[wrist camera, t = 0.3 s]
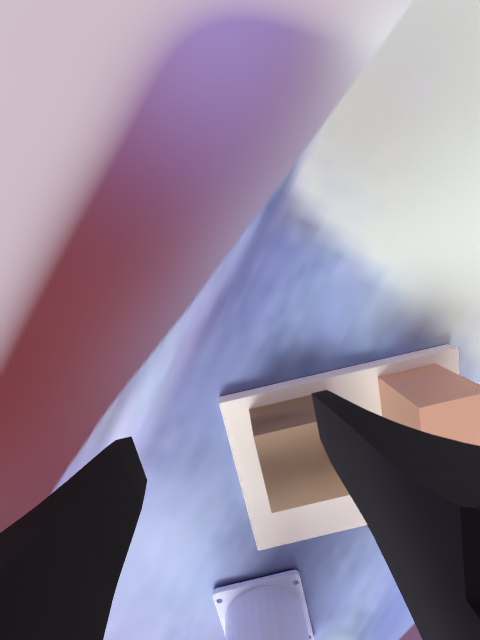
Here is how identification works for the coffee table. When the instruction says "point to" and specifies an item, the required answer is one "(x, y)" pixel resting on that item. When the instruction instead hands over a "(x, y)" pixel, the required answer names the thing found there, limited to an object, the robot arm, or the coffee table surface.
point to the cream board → (344, 382)
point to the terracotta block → (433, 402)
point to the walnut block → (293, 455)
